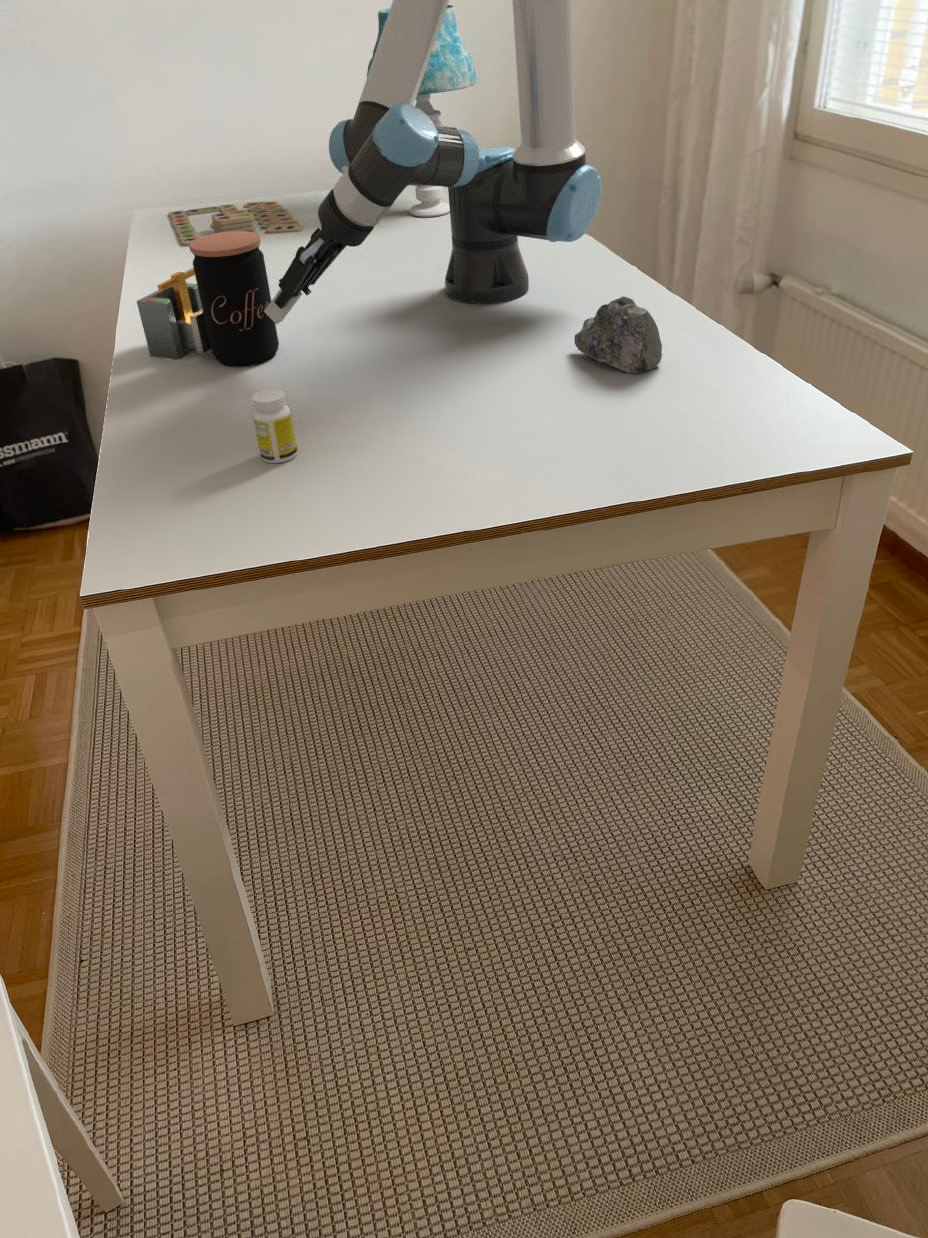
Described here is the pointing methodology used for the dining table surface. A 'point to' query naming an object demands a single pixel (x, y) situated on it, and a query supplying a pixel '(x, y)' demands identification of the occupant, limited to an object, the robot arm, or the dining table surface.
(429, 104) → the table lamp
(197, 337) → the plunger
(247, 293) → the coffee jar
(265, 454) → the supplement bottle
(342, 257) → the dining table surface
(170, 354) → the gauge housing
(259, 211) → the pile of dominoes
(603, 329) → the mineral rock
